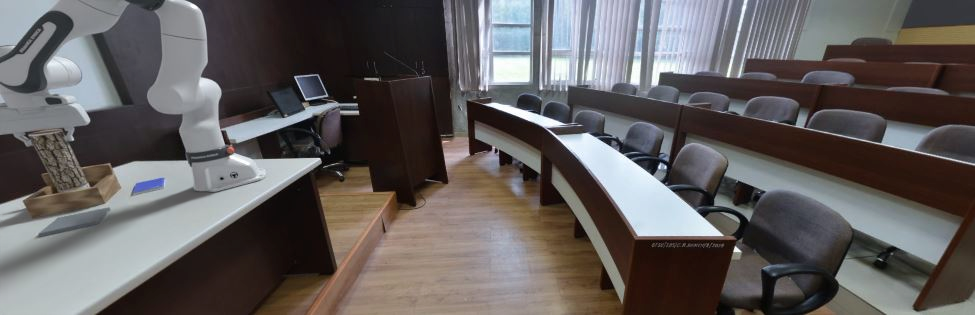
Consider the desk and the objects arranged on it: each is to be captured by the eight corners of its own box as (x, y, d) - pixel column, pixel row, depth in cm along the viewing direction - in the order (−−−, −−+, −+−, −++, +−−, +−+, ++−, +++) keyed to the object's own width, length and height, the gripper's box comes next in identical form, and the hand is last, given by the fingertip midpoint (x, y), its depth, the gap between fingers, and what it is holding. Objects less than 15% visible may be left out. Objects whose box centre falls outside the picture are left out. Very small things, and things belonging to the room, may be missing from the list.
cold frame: (121, 187, 123) (110, 163, 119) (105, 203, 110) (92, 176, 107) (57, 199, 114) (43, 173, 111) (32, 217, 102) (15, 189, 98)
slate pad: (110, 209, 105) (109, 207, 105) (97, 224, 96) (95, 221, 96) (59, 220, 99) (58, 217, 99) (40, 236, 91) (38, 233, 90)
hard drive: (163, 185, 120) (164, 177, 129) (132, 192, 115) (135, 183, 124) (164, 189, 121) (165, 180, 130) (133, 196, 116) (136, 186, 124)
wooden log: (74, 206, 108) (37, 134, 100) (59, 205, 110) (21, 134, 101) (100, 197, 115) (67, 129, 106) (86, 196, 116) (53, 128, 108)
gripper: (-34, 106, 93) (-7, 152, 97) (73, 97, 103) (92, 139, 108) (-19, 103, 98) (6, 147, 102) (81, 95, 108) (99, 135, 113)
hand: (51, 143), depth 105 cm, fingers closed on wooden log, 7 cm apart
